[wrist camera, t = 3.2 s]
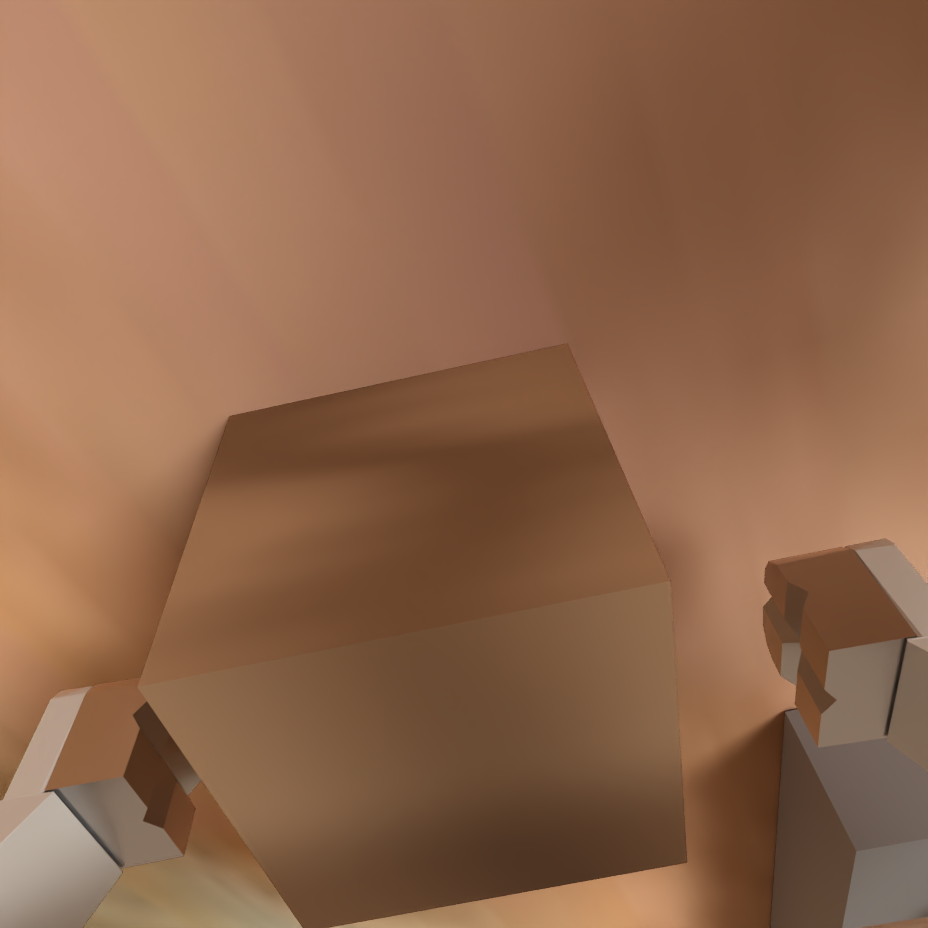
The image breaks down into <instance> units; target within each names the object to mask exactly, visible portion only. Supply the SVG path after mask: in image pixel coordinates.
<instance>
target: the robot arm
mask: <svg viewBox="0 0 928 928" xmlns="http://www.w3.org/2000/svg"><path fill="white" fill-rule="evenodd" d="M764 583H765V585H766V587H767V589H768V591H769V593H770V594H771V596H772V597H771V598H770V600H769V601H768V602H767V603H766V604H765V605H764V607H763V627H764V632H765V637H766V642H767V646H768V649H769V652H770V654H771V657H772V660H773V662H774V664H775V666H776V668H777V670H778V672H779V674H780V676H781V677H783V678H785V679H786V680H788V681H790V682H791V683H793V684H794V685H796V696H795V705H796V707H797V709H798V711H799V713H800V715H801V717H802V718H803V720H804V722H805V724H806V726H807V728H808V730H809V732H810V734H811V736H812V737H813V739H814V741H815V743H816V745H817V747H818V748H819V747H826V746H833V745H840V744H847V743H854V742H861V741H868V740H875V739H882V738H887V742H888V743H890V744H891V745H892V746H894V747H895V748H897V749H898V750H899V751H901V752H902V753H903V754H905V755H906V756H907V757H909V758H910V759H911V760H913V761H914V762H915V763H917V764H918V765H919V766H921V767H922V768H923V769H925V770H926V771H927V772H928V583H927V582H926V581H925V580H924V578H923V577H922V576H921V575H920V574H919V572H918V571H917V570H916V569H915V568H914V566H913V565H912V564H911V563H910V562H909V560H908V559H907V558H906V557H905V556H904V555H903V553H902V552H901V551H900V550H899V549H898V547H897V546H896V545H895V544H894V543H893V542H891V541H889V540H887V539H880V540H875V541H870V542H864V543H859V544H854V545H849V546H846V547H838V548H833V549H828V550H823V551H818V552H813V553H808V554H803V555H797V556H792V557H787V558H782V559H777V560H772V561H768V563H767V566H766V568H765V578H764ZM140 678H141V677H139V678H133V679H127V680H121V681H114V682H108V683H102V684H95V685H93V686H87V687H81V688H74V689H68V690H62V691H60V692H59V693H57V694H56V695H55V696H54V697H53V698H52V699H51V700H50V701H49V703H48V706H47V708H46V710H45V712H44V714H43V716H42V718H41V720H40V722H39V724H38V727H37V729H36V731H35V733H34V735H33V737H32V739H31V741H30V743H29V746H28V748H27V750H26V752H25V754H24V756H23V758H22V760H21V762H20V764H19V767H18V769H17V771H16V773H15V775H14V777H13V779H12V781H11V783H10V785H9V788H8V790H7V792H6V794H5V796H4V798H3V800H0V928H83V927H84V925H85V924H86V923H87V921H88V920H89V918H90V917H91V916H92V914H93V913H94V911H95V910H96V909H97V907H98V906H99V905H100V903H101V902H102V900H103V899H104V898H105V896H106V895H107V893H108V892H109V891H110V889H111V888H112V887H113V885H114V884H115V882H116V881H117V880H118V878H119V877H120V875H121V874H122V873H123V871H122V870H121V869H122V868H127V867H132V866H137V865H142V864H147V863H152V862H157V861H162V860H167V859H172V858H177V857H182V856H184V854H185V850H186V846H187V841H188V837H189V833H190V829H191V825H192V821H193V817H194V813H195V809H196V808H195V806H194V805H193V803H192V801H191V799H190V797H189V794H190V793H191V791H192V790H193V789H194V788H195V787H196V786H197V784H198V783H199V782H200V781H201V779H200V778H199V776H198V775H197V773H196V772H195V770H194V769H193V767H192V766H191V764H190V763H189V762H188V760H187V759H186V757H185V756H184V754H183V753H182V751H181V750H180V748H179V747H178V746H177V744H176V743H175V741H174V740H173V738H172V737H171V735H170V734H169V732H168V731H167V730H166V728H165V727H164V725H163V724H162V722H161V721H160V719H159V718H158V716H157V715H156V714H155V712H154V711H153V709H152V708H151V706H150V705H149V703H148V702H147V700H146V699H145V698H144V696H143V695H142V693H141V692H140V690H139V689H138V684H139V681H140ZM860 928H928V917H923V918H917V919H911V920H904V921H898V922H892V923H885V924H879V925H872V926H866V927H860Z"/></svg>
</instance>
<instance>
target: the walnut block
mask: <svg viewBox="0 0 928 928" xmlns="http://www.w3.org/2000/svg"><path fill="white" fill-rule="evenodd" d="M138 689H139V690H140V692H141V693H142V695H143V696H144V698H145V699H146V700H147V702H148V703H149V705H150V706H151V708H152V709H153V711H154V712H155V714H156V715H157V716H158V718H159V719H160V721H161V722H162V724H163V725H164V727H165V728H166V730H167V731H168V732H169V734H170V735H171V737H172V738H173V740H174V741H175V743H176V744H177V746H178V747H179V748H180V750H181V751H182V753H183V754H184V756H185V757H186V759H187V760H188V762H189V763H190V764H191V766H192V767H193V769H194V770H195V772H196V773H197V775H198V776H199V778H200V779H201V780H202V782H203V783H204V785H205V786H206V788H207V789H208V791H209V792H210V794H211V795H212V796H213V798H214V799H215V801H216V802H217V804H218V805H219V807H220V808H221V810H222V811H223V812H224V814H225V815H226V817H227V818H228V820H229V821H230V823H231V824H232V826H233V827H234V828H235V830H236V831H237V833H238V834H239V836H240V837H241V839H242V840H243V842H244V843H245V844H246V846H247V847H248V849H249V850H250V852H251V853H252V855H253V856H254V858H255V859H256V860H257V862H258V863H259V865H260V866H261V868H262V869H263V871H264V872H265V874H266V875H267V876H268V878H269V879H270V881H271V882H272V884H273V885H274V887H275V888H276V890H277V891H278V892H279V894H280V895H281V897H282V898H283V900H284V901H285V903H286V904H287V905H288V907H289V908H290V910H291V911H292V913H293V914H294V916H295V917H296V919H297V920H298V921H299V923H300V924H301V926H302V927H303V928H329V927H334V926H340V925H345V924H351V923H356V922H362V921H367V920H373V919H379V918H384V917H390V916H395V915H401V914H406V913H412V912H417V911H423V910H428V909H434V908H439V907H445V906H450V905H456V904H461V903H467V902H472V901H478V900H483V899H489V898H494V897H500V896H506V895H511V894H517V893H522V892H528V891H533V890H539V889H544V888H550V887H555V886H561V885H566V884H572V883H577V882H583V881H588V880H594V879H599V878H605V877H610V876H616V875H622V874H627V873H633V872H638V871H644V870H649V869H655V868H660V867H666V866H671V865H677V864H682V863H687V850H686V833H685V816H684V799H683V782H682V765H681V748H680V731H679V714H678V696H677V679H676V662H675V645H674V628H673V611H672V594H671V580H670V578H669V576H668V574H667V571H666V569H665V567H664V564H663V562H662V560H661V558H660V555H659V553H658V551H657V548H656V546H655V544H654V541H653V539H652V537H651V535H650V532H649V530H648V528H647V525H646V523H645V521H644V518H643V516H642V514H641V512H640V509H639V507H638V505H637V502H636V500H635V498H634V496H633V493H632V491H631V489H630V486H629V484H628V482H627V479H626V477H625V475H624V473H623V470H622V468H621V466H620V463H619V461H618V459H617V456H616V454H615V452H614V450H613V447H612V445H611V443H610V440H609V438H608V436H607V434H606V431H605V429H604V427H603V424H602V422H601V420H600V417H599V415H598V413H597V411H596V408H595V406H594V404H593V401H592V399H591V397H590V394H589V392H588V390H587V388H586V385H585V383H584V381H583V378H582V376H581V374H580V372H579V369H578V367H577V365H576V362H575V360H574V358H573V355H572V353H571V351H570V349H569V346H568V344H562V345H558V346H553V347H548V348H544V349H539V350H534V351H530V352H525V353H520V354H516V355H511V356H506V357H502V358H497V359H493V360H488V361H483V362H479V363H474V364H469V365H465V366H460V367H455V368H451V369H446V370H441V371H437V372H432V373H427V374H423V375H418V376H414V377H409V378H404V379H400V380H395V381H390V382H386V383H381V384H376V385H372V386H367V387H362V388H358V389H353V390H348V391H344V392H339V393H335V394H330V395H325V396H321V397H316V398H311V399H307V400H302V401H297V402H293V403H288V404H283V405H279V406H274V407H269V408H265V409H260V410H255V411H251V412H246V413H242V414H237V415H232V416H230V417H229V420H228V423H227V426H226V429H225V431H224V434H223V437H222V440H221V443H220V446H219V449H218V452H217V455H216V458H215V461H214V464H213V467H212V470H211V473H210V475H209V478H208V481H207V484H206V487H205V490H204V493H203V496H202V499H201V502H200V505H199V508H198V511H197V514H196V517H195V519H194V522H193V525H192V528H191V531H190V534H189V537H188V540H187V543H186V546H185V549H184V552H183V555H182V558H181V561H180V563H179V566H178V569H177V572H176V575H175V578H174V581H173V584H172V587H171V590H170V593H169V596H168V599H167V602H166V605H165V607H164V610H163V613H162V616H161V619H160V622H159V625H158V628H157V631H156V634H155V637H154V640H153V643H152V646H151V649H150V651H149V654H148V657H147V660H146V663H145V666H144V669H143V672H142V675H141V678H140V681H139V684H138Z"/></svg>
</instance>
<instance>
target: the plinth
mask: <svg viewBox="0 0 928 928" xmlns="http://www.w3.org/2000/svg"><path fill="white" fill-rule="evenodd" d="M923 917H928V772H927V771H926V770H925V769H923V768H922V767H921V766H919V765H918V764H917V763H915V762H914V761H913V760H911V759H910V758H909V757H907V756H906V755H905V754H903V753H902V752H901V751H899V750H898V749H897V748H895V747H894V746H892V745H891V744H890V743H888V742H887V738H882V739H875V740H868V741H861V742H854V743H847V744H840V745H833V746H826V747H819V748H818V747H817V745H816V743H815V741H814V739H813V737H812V736H811V734H810V732H809V730H808V728H807V726H806V724H805V722H804V720H803V718H802V717H801V715H800V713H799V711H798V709H796V710H791V711H786V712H785V721H784V735H783V750H782V764H781V779H780V793H779V808H778V822H777V837H776V851H775V866H774V880H773V895H772V909H771V924H770V928H860V927H866V926H872V925H879V924H885V923H892V922H898V921H904V920H911V919H917V918H923Z"/></svg>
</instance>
